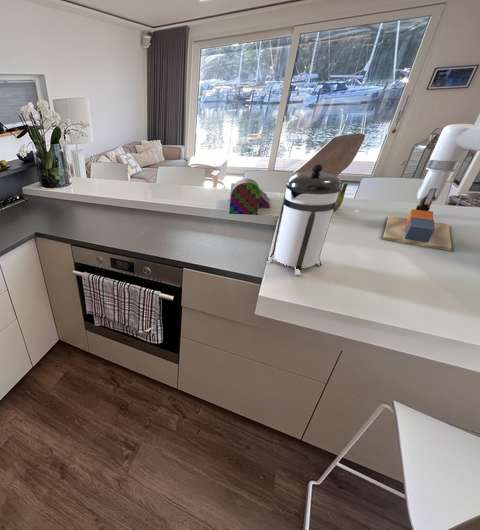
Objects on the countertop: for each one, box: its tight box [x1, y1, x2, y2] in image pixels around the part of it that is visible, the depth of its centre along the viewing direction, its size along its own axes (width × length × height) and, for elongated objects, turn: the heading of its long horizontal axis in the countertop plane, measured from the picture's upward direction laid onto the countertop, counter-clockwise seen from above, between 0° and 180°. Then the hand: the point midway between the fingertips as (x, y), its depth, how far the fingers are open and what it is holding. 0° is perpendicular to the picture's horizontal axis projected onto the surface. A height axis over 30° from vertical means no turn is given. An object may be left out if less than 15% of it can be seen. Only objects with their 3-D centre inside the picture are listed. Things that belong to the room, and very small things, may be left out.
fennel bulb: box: [334, 181, 349, 211], centre depth 120 cm, size 6×5×12 cm
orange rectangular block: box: [405, 208, 434, 229], centre depth 100 cm, size 6×9×4 cm, turn 138°
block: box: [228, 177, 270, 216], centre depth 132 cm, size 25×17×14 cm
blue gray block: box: [405, 217, 435, 243], centre depth 94 cm, size 6×9×4 cm, turn 138°
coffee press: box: [266, 163, 343, 271], centre depth 82 cm, size 17×16×30 cm
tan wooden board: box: [382, 215, 453, 252], centre depth 99 cm, size 16×22×1 cm
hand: (418, 216), depth 105 cm, fingers closed
